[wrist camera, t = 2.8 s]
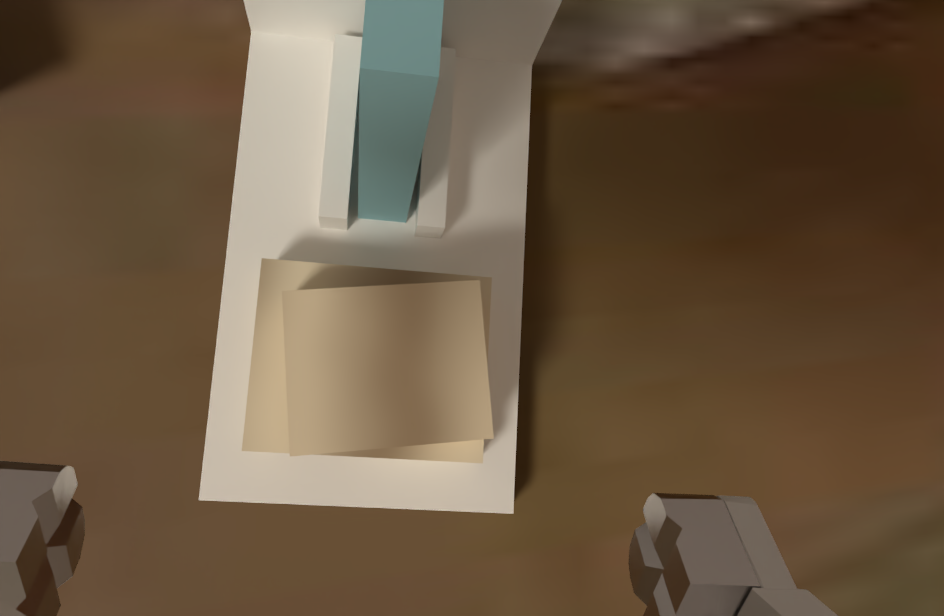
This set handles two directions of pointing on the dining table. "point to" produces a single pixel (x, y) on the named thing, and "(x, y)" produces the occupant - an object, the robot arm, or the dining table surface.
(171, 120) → the dining table surface
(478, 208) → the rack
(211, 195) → the dining table surface
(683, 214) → the dining table surface
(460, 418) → the offcut top
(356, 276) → the plate
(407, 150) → the tall board
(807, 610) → the robot arm
